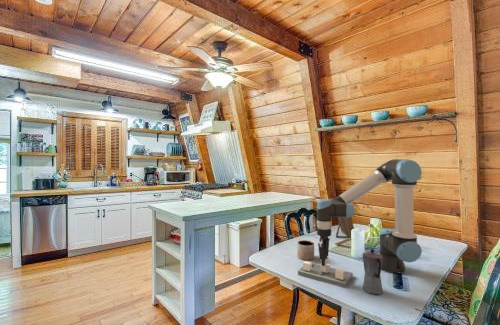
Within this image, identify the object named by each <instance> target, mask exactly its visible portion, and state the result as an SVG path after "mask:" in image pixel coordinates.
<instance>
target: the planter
mask: <svg viewBox="0 0 500 325" xmlns="http://www.w3.org/2000/svg"><path fill="white" fill-rule="evenodd" d="M296 250H297V258H298V259H300V260H303V261H312V260H313V259H315V243H314V242H313V241H310V240H299V241H297V249H296Z"/></svg>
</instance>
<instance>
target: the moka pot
mask: <svg viewBox="0 0 500 325" xmlns="http://www.w3.org/2000/svg"><path fill="white" fill-rule="evenodd" d="M379 254H380V253H376V252H375V250H374V249H370V251H366V252H362V262H363V269H364V270H363V271H364V276H363V283H362V290H363V291H364V292H366V293H368V294H372V295H373V294H374V295H380V294H382V293H383V283H382V276H381V274H382V270H381V268H382V260H383V257H382V255H379Z"/></svg>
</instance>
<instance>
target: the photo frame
mask: <svg viewBox="0 0 500 325" xmlns="http://www.w3.org/2000/svg"><path fill="white" fill-rule="evenodd" d="M337 220H338V227H337V229H336V233H335V238H337V237H339V236H338V235H339V232H341V233H342V234H344V235H345V236H346V237H347V238H349V239H350V240H352V239H351V230H352V229H354V230H355V227H354V223H353V217H348V218H347V217H337Z"/></svg>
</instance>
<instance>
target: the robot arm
mask: <svg viewBox="0 0 500 325" xmlns="http://www.w3.org/2000/svg"><path fill="white" fill-rule="evenodd" d="M422 172H423V171H422V168H421V166H420V164H419V163H417V161H415V160H411V159H399V158H398V159H391V160H388V161H386V162H384V163H383V164H381V165H380V166H379V167H377V168H375V169H374V170H373V172H372V173H371V174H370V175H368V176H366V177H365V178H364V179H362V180H360V181H359V182H358V183H356V184H354V185H353V186H351V187H350V188H348V189H347V190H346V191H344V192H342V193H341V194H339V195H338V196H336V197H335V198H329V199H328V198H321V199H318V200H317V202H316V209H317V210H316V227H317V228H316V235H317V236H318V237H319V242H318V243H317V245H318V255H319V260H320V265H321V271H324V272H326V271H327V264H328V259H329V252H330V251H329V249H330V239H331V238H330V237H331V236H332V218H338V217H347V218H348V217H351V218H353V217H354V216H355V212H356V209H355V205H354V204H353V203H355V201H357V200H359V199H360V198H362V197H364V196H365V195H366V194H368V193H370V192H371V191H373V190H374V189H376V188H377V187H378V186H380V185H382V184H386V183H388V182H390V181H391V186H393V187H394V226H395V227H394V228H381V229H380V230H379V253H378V254H379V255H382V257H383V260H382V268H381V271H384V272H387V273H392V274H394V273H393V272H400V273H399V274H401V273H405V272H406V264H405V263H414V262H416V261H417V260H418V259H419V258H421V256H422V253H423V252H422V247H421V246H420V244H419V243H418V236H417V234H416V233H414V188H415V187H416V186H417V185H418V184H417V183H418V181H419V179H421V177H422Z"/></svg>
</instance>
